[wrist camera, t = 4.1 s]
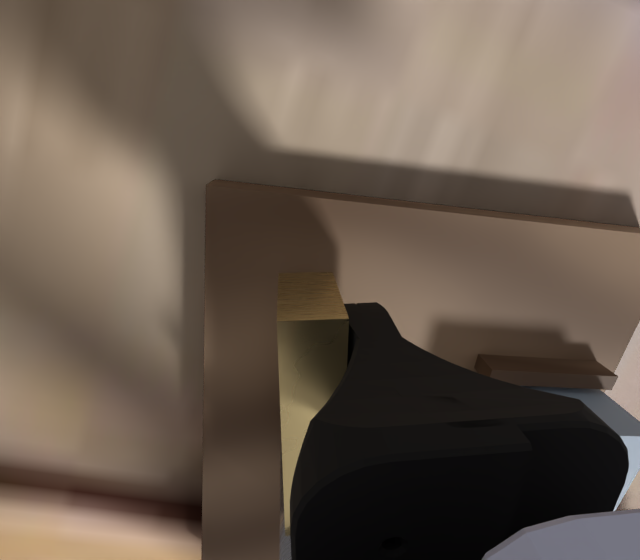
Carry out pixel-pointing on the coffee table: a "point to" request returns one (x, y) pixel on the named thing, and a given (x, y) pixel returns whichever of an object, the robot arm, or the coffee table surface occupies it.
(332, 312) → the wooden bar
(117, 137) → the coffee table surface
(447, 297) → the brown board
